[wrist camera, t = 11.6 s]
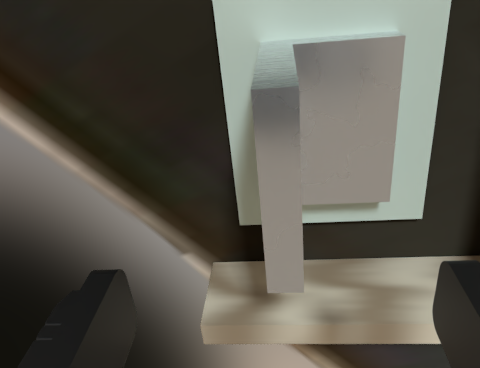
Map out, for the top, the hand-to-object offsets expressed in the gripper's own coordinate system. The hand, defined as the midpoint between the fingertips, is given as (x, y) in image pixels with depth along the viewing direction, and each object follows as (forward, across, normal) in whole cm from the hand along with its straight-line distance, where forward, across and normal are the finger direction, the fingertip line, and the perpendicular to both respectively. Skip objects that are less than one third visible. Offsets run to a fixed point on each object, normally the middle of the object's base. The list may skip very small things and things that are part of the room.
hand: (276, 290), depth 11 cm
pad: (+12, -3, 0) cm, 12 cm away
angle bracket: (+11, -3, 0) cm, 12 cm away
